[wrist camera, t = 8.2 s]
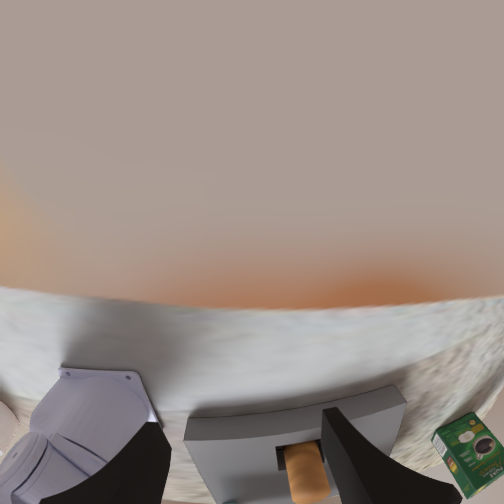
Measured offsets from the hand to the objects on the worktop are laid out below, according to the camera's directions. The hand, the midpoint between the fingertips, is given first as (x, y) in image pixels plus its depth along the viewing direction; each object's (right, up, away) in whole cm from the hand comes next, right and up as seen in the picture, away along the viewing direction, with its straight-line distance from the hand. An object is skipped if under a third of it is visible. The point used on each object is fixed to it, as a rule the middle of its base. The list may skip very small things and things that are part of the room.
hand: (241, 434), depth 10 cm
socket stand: (+5, -14, +14) cm, 20 cm away
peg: (+5, -10, +13) cm, 17 cm away
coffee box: (+29, -17, +15) cm, 37 cm away
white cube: (-37, -16, +13) cm, 42 cm away
